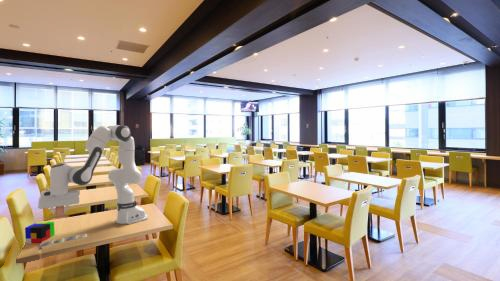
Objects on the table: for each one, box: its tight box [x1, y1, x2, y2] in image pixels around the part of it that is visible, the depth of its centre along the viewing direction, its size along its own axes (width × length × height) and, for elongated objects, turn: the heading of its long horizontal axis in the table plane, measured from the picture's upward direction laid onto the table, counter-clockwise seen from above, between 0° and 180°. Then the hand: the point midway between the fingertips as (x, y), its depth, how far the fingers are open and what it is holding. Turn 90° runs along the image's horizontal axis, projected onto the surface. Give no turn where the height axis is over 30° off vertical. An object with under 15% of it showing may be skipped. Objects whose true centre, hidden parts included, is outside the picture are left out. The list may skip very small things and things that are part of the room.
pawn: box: [55, 206, 65, 218], centre depth 160 cm, size 4×4×8 cm
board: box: [37, 233, 88, 251], centre depth 162 cm, size 25×8×1 cm, turn 128°
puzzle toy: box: [24, 221, 55, 245], centre depth 164 cm, size 10×10×10 cm
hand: (59, 213), depth 160 cm, fingers closed on pawn, 4 cm apart
